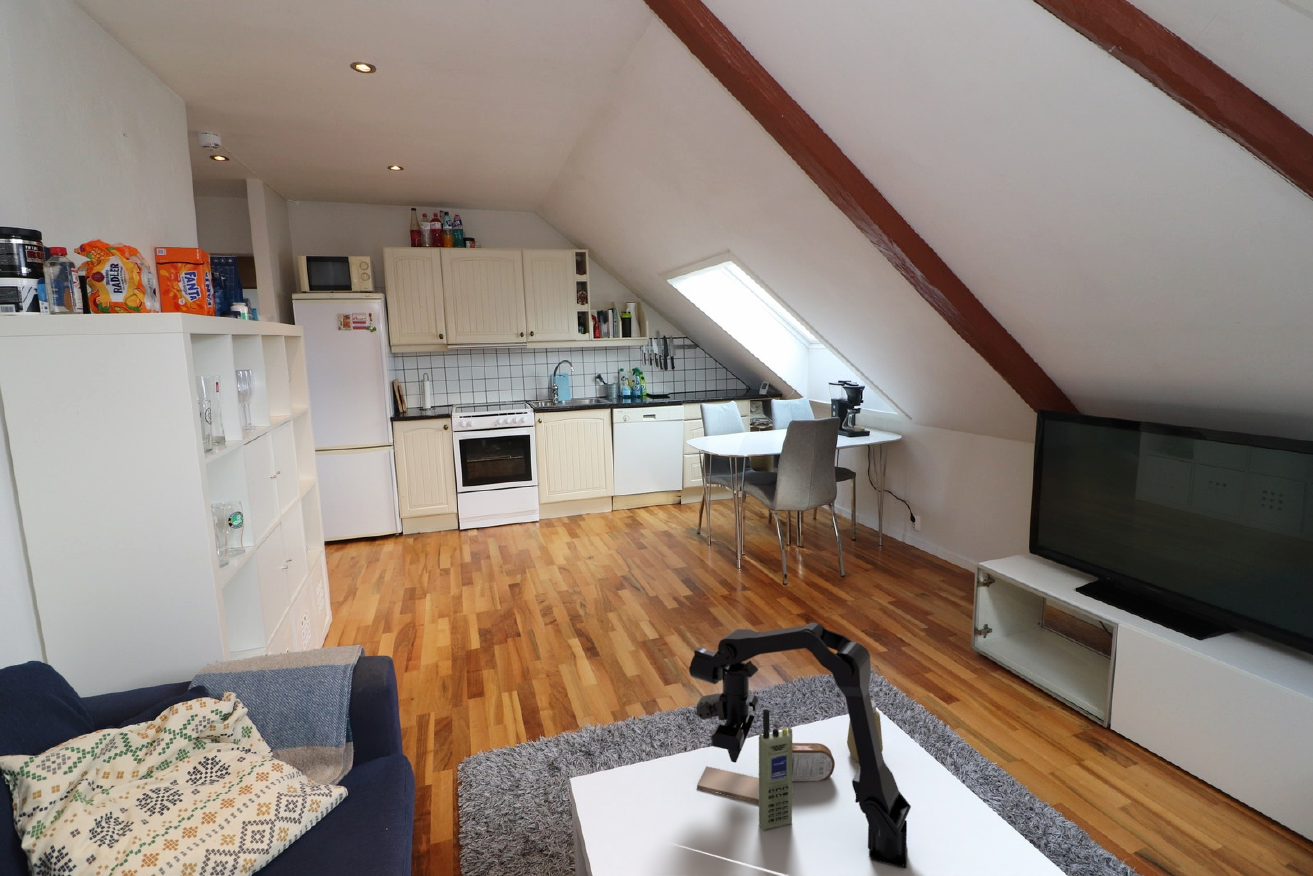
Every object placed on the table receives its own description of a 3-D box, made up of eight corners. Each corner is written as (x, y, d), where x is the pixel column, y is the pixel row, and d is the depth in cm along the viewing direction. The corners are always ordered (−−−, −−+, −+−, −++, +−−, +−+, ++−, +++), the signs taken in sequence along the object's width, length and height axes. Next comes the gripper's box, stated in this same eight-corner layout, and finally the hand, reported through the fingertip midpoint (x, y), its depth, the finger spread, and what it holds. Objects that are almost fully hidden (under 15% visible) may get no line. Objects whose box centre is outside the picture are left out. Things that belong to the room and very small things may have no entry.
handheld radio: (763, 833, 126) (763, 716, 124) (757, 822, 130) (756, 707, 127) (794, 826, 128) (794, 710, 125) (786, 815, 131) (787, 702, 129)
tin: (830, 775, 144) (832, 741, 143) (835, 784, 141) (837, 749, 140) (765, 776, 143) (767, 741, 142) (768, 785, 140) (770, 749, 139)
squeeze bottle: (887, 771, 145) (889, 697, 143) (852, 771, 145) (853, 697, 143) (875, 749, 153) (877, 679, 151) (842, 750, 153) (843, 679, 151)
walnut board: (775, 786, 140) (775, 781, 140) (768, 807, 134) (768, 801, 134) (706, 771, 146) (706, 766, 146) (697, 790, 140) (696, 785, 140)
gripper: (712, 664, 149) (713, 726, 151) (687, 704, 132) (688, 773, 134) (758, 671, 145) (759, 735, 147) (739, 713, 128) (739, 785, 129)
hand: (736, 756), depth 139 cm, fingers open, 4 cm apart
